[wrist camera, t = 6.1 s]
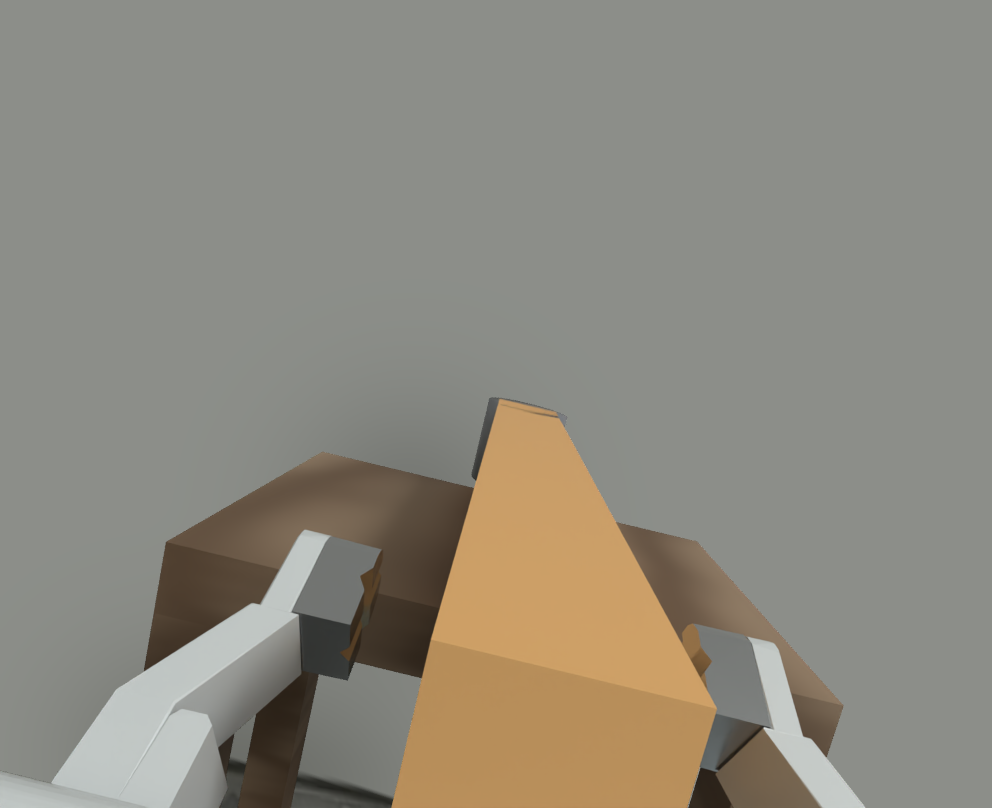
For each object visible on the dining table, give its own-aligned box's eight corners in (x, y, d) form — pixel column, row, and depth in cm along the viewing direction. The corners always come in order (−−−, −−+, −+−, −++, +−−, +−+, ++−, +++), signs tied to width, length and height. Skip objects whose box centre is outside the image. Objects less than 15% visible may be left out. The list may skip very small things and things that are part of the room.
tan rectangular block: (545, 482, 31) (563, 411, 31) (661, 1047, 6) (765, 720, 6) (474, 465, 31) (491, 394, 31) (309, 959, 6) (383, 628, 6)
